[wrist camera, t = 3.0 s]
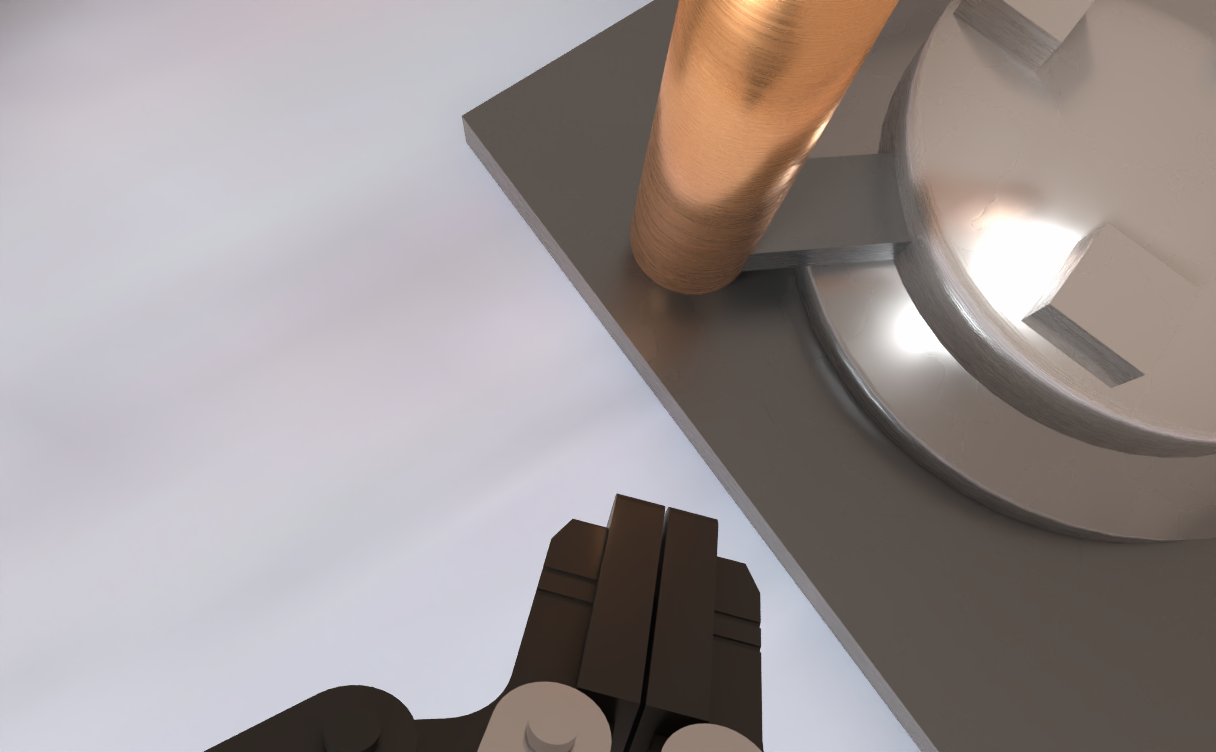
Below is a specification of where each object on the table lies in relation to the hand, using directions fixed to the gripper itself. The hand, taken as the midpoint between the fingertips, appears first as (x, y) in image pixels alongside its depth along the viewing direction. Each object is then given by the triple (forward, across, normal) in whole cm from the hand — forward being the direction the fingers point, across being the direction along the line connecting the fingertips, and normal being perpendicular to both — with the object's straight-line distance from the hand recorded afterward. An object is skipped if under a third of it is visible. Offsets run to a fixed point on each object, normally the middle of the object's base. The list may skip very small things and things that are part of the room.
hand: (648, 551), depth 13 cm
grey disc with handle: (+14, -8, -2) cm, 17 cm away
